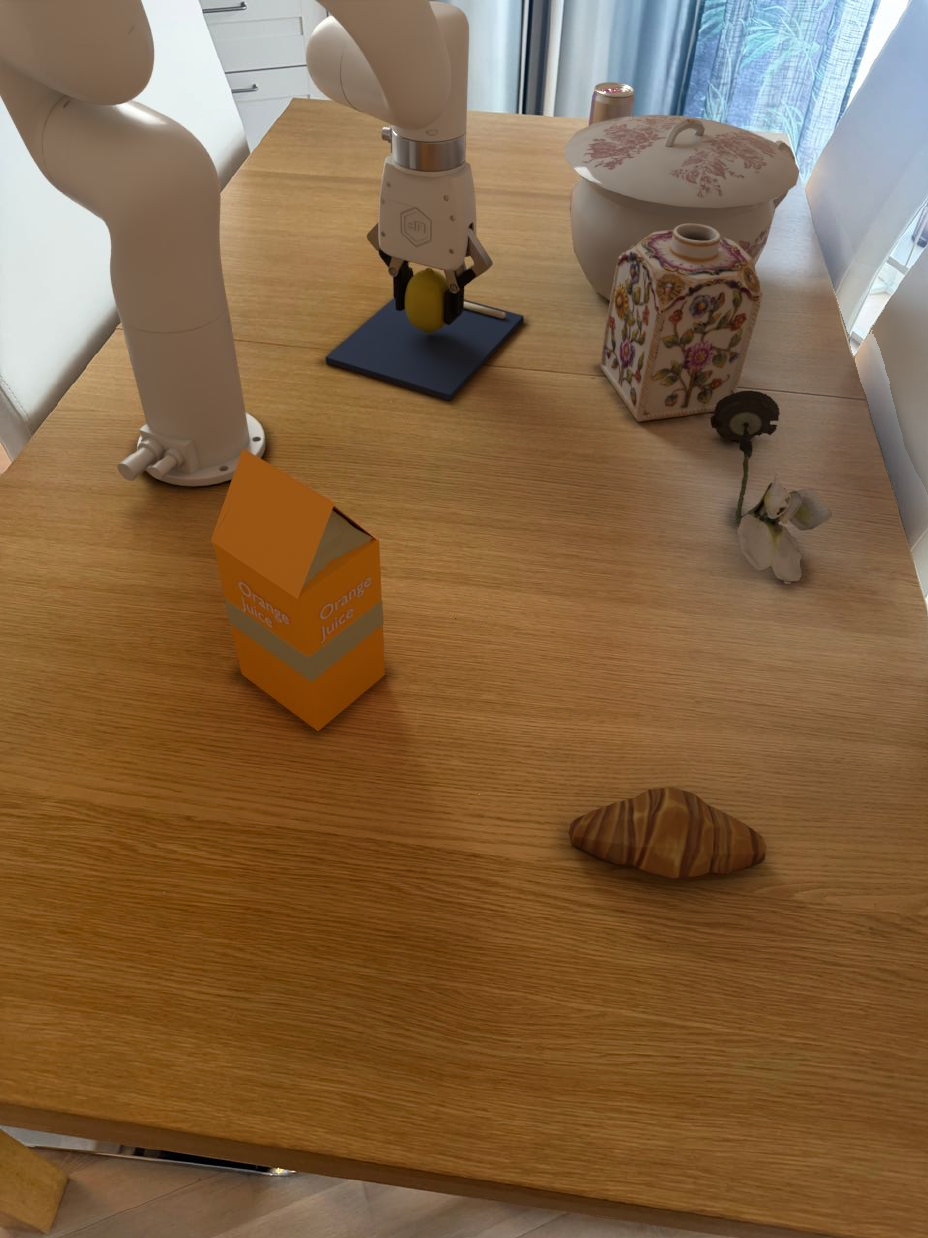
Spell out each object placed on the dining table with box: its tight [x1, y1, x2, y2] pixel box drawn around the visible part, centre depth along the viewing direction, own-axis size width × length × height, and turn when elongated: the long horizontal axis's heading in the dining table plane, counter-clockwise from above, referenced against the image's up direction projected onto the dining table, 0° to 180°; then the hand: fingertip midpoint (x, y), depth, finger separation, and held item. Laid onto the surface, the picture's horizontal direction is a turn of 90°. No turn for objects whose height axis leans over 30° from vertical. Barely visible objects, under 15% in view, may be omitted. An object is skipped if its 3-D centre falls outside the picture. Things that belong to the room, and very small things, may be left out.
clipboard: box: [325, 297, 525, 402], centre depth 110 cm, size 20×16×2 cm
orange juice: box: [210, 448, 386, 732], centre depth 67 cm, size 8×9×20 cm
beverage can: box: [588, 81, 635, 126], centre depth 135 cm, size 6×6×15 cm
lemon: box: [405, 267, 448, 334], centre depth 107 cm, size 6×6×8 cm
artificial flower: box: [710, 390, 834, 585], centre depth 88 cm, size 9×22×10 cm, turn 171°
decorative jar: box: [600, 224, 763, 423], centre depth 98 cm, size 12×12×18 cm
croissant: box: [568, 786, 767, 879], centre depth 63 cm, size 14×7×5 cm, turn 85°
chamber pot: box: [564, 114, 800, 302], centre depth 113 cm, size 28×28×21 cm
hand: (428, 311), depth 107 cm, fingers closed on lemon, 5 cm apart
